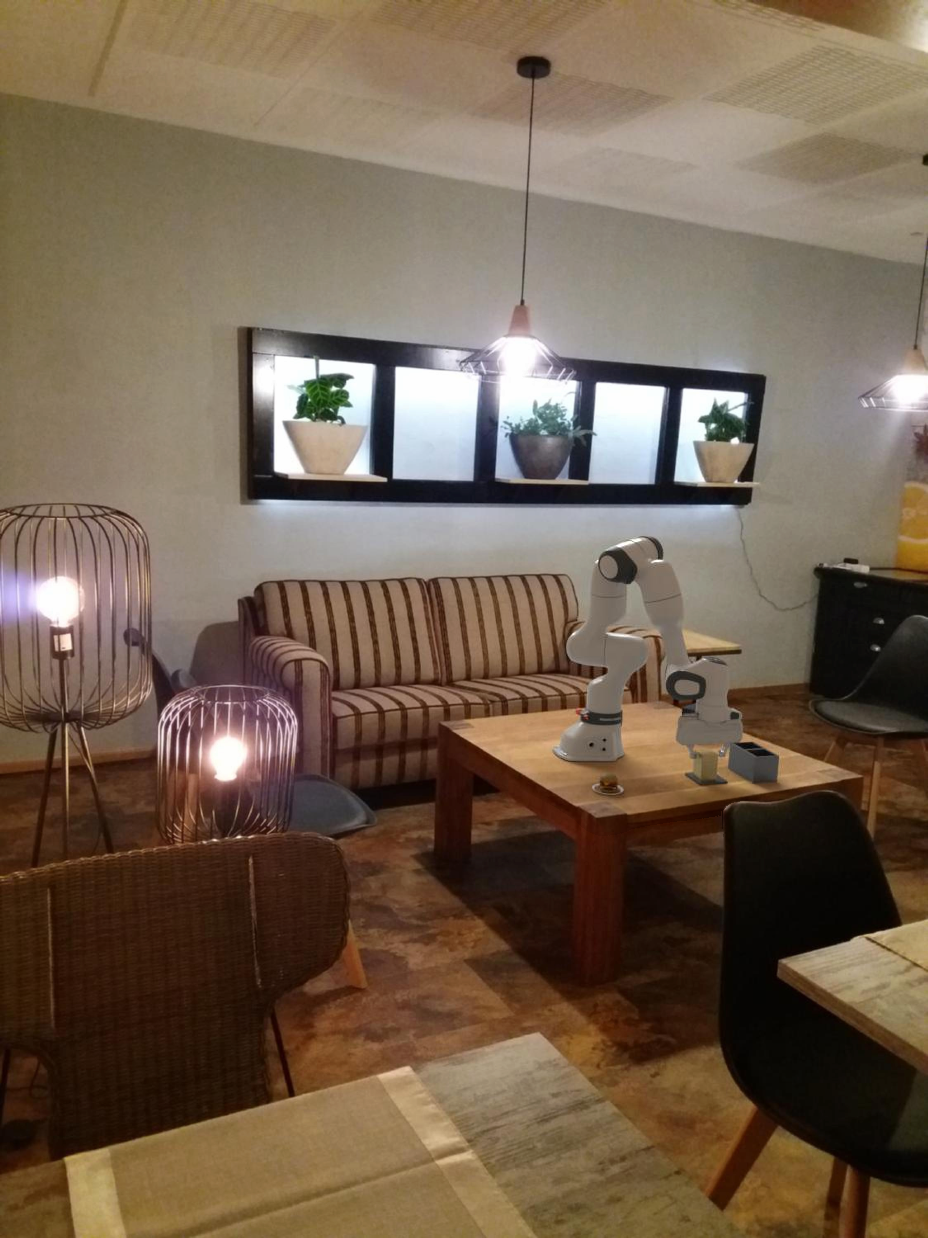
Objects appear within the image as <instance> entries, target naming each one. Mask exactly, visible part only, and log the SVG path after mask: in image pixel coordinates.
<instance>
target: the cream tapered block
mask: <svg viewBox="0 0 928 1238" xmlns="http://www.w3.org/2000/svg"><path fill="white" fill-rule="evenodd" d="M694 752H695V753H697V759H693V767H692V772H693V776H694V777H695V778H697V779H698V780H699V781H716V777H717V775H718V762H719V756H718V753H717V752H715V751H714V750H713V749H711V748H709V749H708V748H705V749H694Z"/></svg>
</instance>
